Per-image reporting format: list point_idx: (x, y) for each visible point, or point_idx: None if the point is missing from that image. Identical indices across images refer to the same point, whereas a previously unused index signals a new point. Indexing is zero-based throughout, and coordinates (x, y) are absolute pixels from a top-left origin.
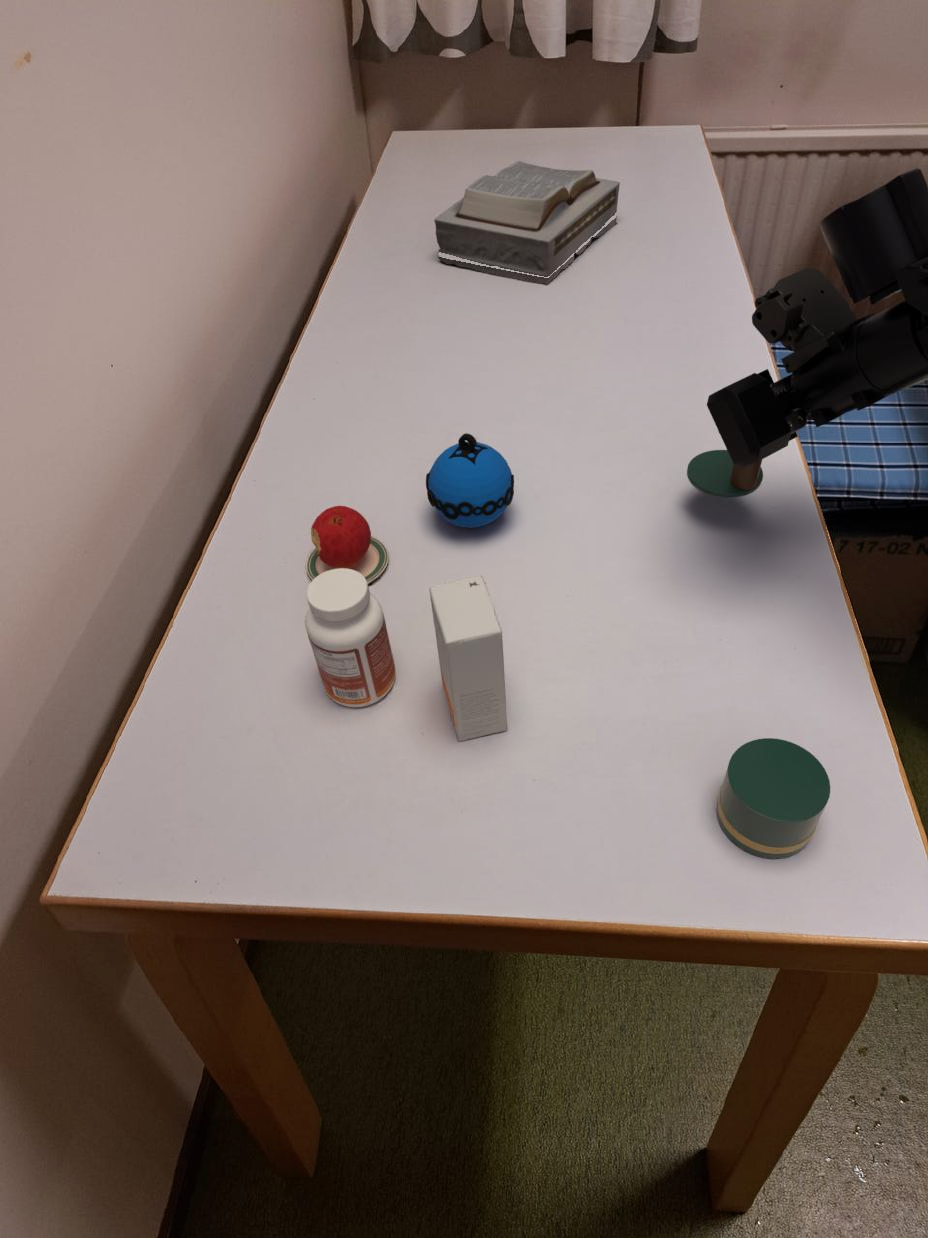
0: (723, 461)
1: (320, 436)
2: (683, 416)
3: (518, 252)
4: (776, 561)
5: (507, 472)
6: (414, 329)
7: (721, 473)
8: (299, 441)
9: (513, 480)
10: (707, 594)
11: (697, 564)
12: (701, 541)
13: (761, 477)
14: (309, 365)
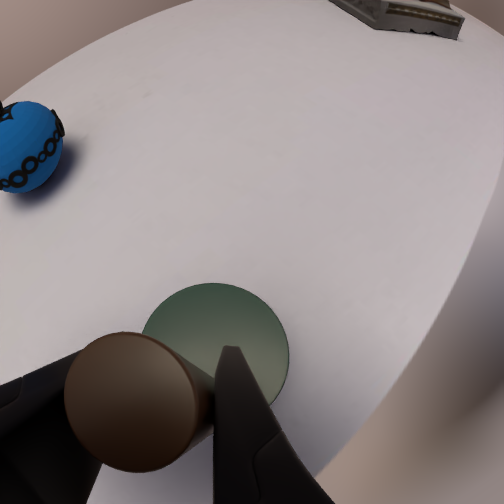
0: (236, 331)
1: (89, 58)
2: (358, 187)
3: (362, 1)
4: (189, 495)
5: (16, 153)
6: (246, 11)
7: (199, 354)
8: (79, 59)
9: (34, 162)
10: None
11: None
12: None
13: None
14: (159, 14)
